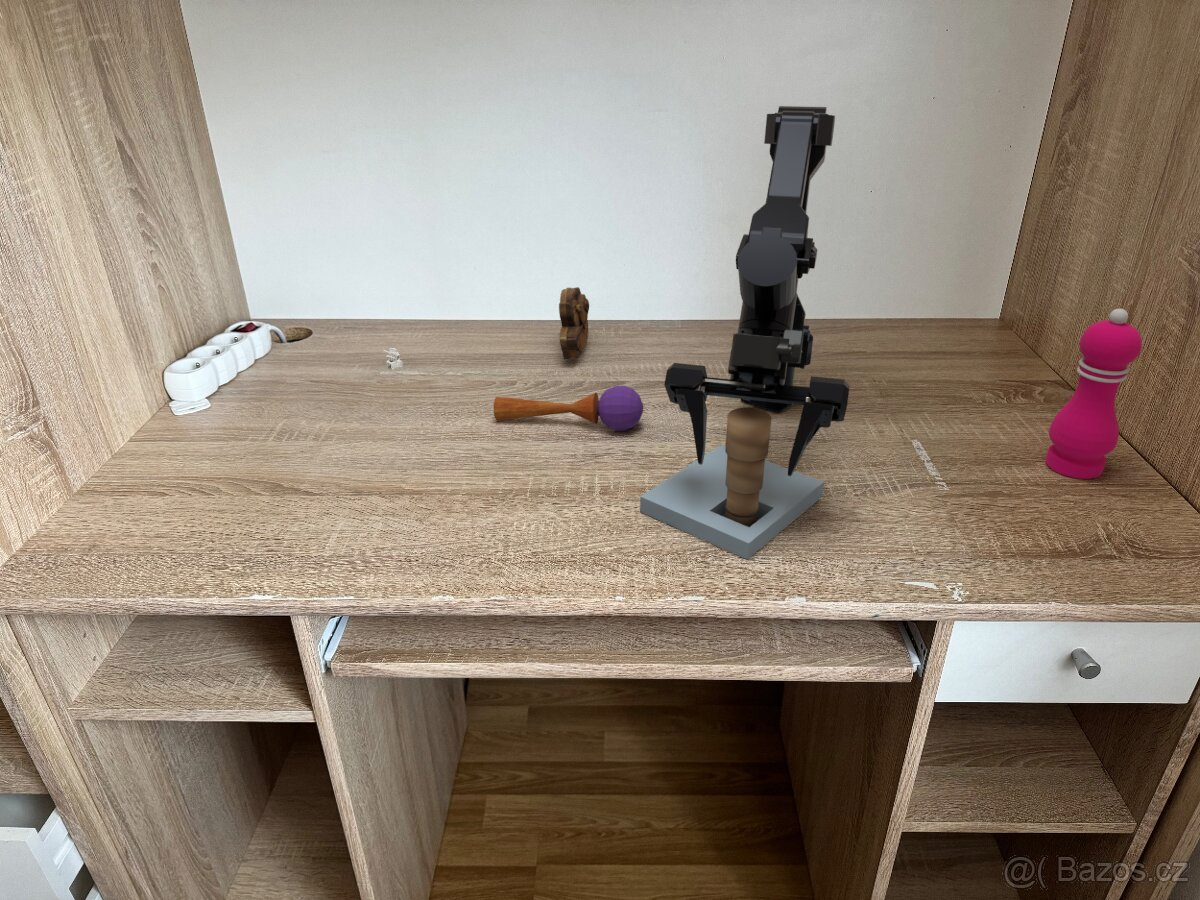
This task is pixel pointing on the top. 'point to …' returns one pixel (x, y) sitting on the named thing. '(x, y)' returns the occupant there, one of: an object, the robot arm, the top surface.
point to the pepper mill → (1094, 399)
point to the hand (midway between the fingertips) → (744, 469)
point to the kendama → (580, 408)
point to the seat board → (702, 497)
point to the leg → (745, 462)
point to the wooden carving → (573, 322)
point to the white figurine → (393, 358)
